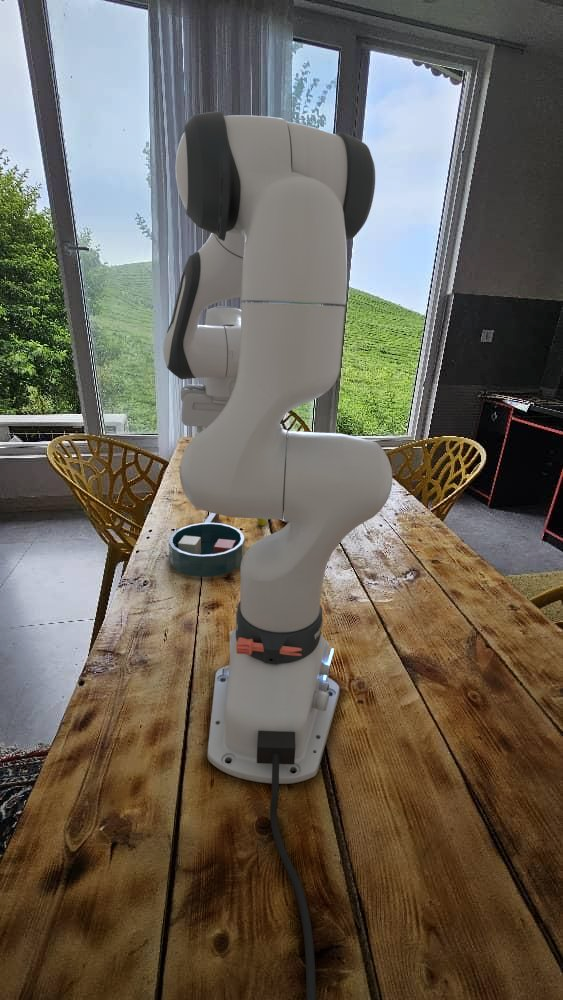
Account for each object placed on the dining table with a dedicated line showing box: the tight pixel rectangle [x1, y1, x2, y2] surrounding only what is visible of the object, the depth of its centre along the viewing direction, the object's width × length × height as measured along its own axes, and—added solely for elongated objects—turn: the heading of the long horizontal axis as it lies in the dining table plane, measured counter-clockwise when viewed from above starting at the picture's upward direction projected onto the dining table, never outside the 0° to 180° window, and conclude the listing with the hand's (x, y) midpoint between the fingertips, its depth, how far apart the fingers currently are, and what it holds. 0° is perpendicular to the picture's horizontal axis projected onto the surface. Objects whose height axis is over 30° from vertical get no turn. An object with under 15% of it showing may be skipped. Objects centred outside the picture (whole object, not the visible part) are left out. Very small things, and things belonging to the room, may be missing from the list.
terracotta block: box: [214, 539, 236, 554], centre depth 100 cm, size 4×4×4 cm
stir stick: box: [203, 512, 220, 523], centre depth 116 cm, size 12×2×3 cm, turn 172°
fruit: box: [256, 519, 268, 527], centre depth 120 cm, size 10×2×5 cm, turn 173°
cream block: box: [178, 536, 201, 555], centre depth 101 cm, size 4×4×4 cm
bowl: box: [168, 522, 246, 578], centre depth 101 cm, size 17×17×6 cm
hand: (226, 446), depth 104 cm, fingers open, 8 cm apart
